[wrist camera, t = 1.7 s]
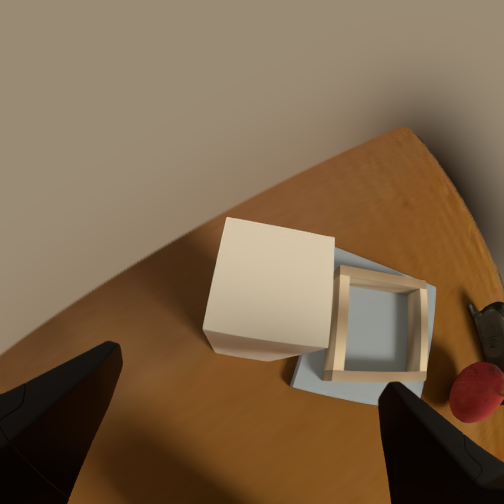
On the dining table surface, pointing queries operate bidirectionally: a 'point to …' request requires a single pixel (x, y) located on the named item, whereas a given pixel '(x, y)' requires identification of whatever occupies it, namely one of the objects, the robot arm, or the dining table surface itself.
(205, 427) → the dining table surface
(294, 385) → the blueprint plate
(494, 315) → the mobile phone
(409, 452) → the robot arm
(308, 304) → the block
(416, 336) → the socket collar
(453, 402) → the onion
